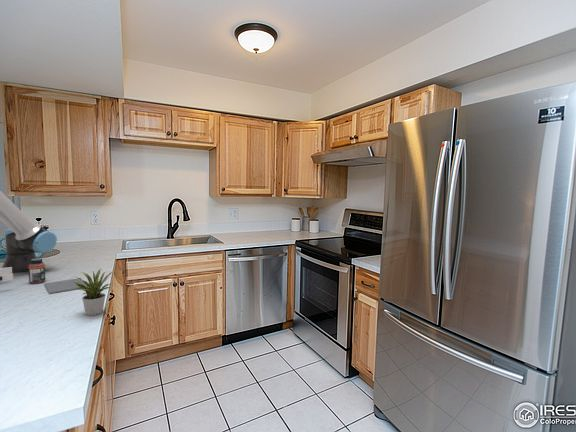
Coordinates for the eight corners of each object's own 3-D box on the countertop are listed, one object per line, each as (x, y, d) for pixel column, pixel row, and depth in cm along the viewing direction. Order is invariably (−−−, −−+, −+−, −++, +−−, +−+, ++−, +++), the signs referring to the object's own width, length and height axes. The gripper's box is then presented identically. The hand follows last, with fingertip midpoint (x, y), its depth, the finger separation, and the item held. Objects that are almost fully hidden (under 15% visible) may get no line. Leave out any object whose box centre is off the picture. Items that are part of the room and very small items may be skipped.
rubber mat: (44, 284, 134) (44, 283, 134) (80, 279, 144) (80, 277, 144) (49, 294, 123) (49, 292, 123) (88, 287, 133) (88, 286, 133)
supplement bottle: (32, 281, 139) (32, 257, 138) (47, 280, 141) (47, 257, 140) (26, 284, 133) (25, 260, 133) (42, 283, 136) (41, 260, 135)
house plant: (111, 301, 117) (111, 262, 116) (125, 310, 109) (125, 268, 108) (68, 311, 106) (68, 268, 105) (80, 323, 98) (79, 276, 97)
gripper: (-56, 283, 125) (11, 275, 140) (-65, 299, 107) (13, 288, 122) (-57, 266, 124) (11, 260, 139) (-66, 280, 107) (13, 270, 122)
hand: (12, 273), depth 131 cm, fingers open, 13 cm apart
